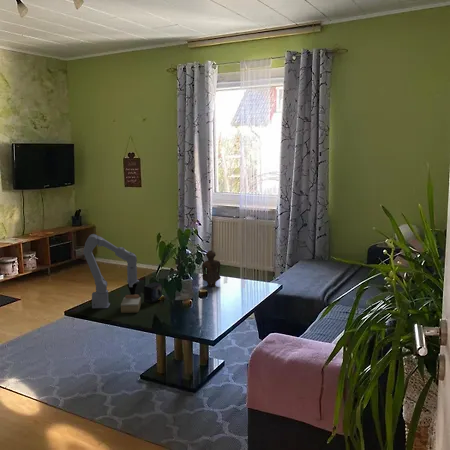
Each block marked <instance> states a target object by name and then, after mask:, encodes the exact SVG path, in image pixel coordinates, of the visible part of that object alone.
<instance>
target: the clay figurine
mask: <svg viewBox="0 0 450 450" xmlns="http://www.w3.org/2000/svg"><path fill="white" fill-rule="evenodd" d="M216 255H217V254H216V252H215V251H214V250H209V251H206V254H205V256H206V258H207V260H204V261H203V262H202V265H201V271H202V275H201V277H202V280H203V281H205V282H206V285H207V286H208V288H209V287H212V286H213V287H216V284H217V281H219V280H221V275H220V272H221V262H220V261H219V260H218V259H217V260H216V259H215V257H216ZM204 267H206V268H207V274H204V273H205V268H204Z"/></svg>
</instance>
